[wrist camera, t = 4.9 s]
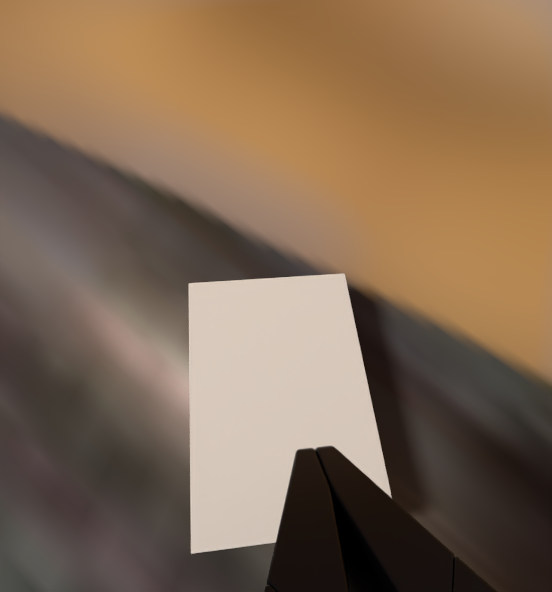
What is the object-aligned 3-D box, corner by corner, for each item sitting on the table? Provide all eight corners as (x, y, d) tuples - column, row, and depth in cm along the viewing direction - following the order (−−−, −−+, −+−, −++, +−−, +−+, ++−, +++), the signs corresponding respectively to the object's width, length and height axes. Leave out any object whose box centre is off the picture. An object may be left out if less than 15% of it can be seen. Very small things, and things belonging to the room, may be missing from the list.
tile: (397, 525, 13) (344, 273, 18) (191, 553, 13) (188, 283, 17) (377, 521, 15) (334, 296, 20) (198, 544, 15) (195, 305, 19)
